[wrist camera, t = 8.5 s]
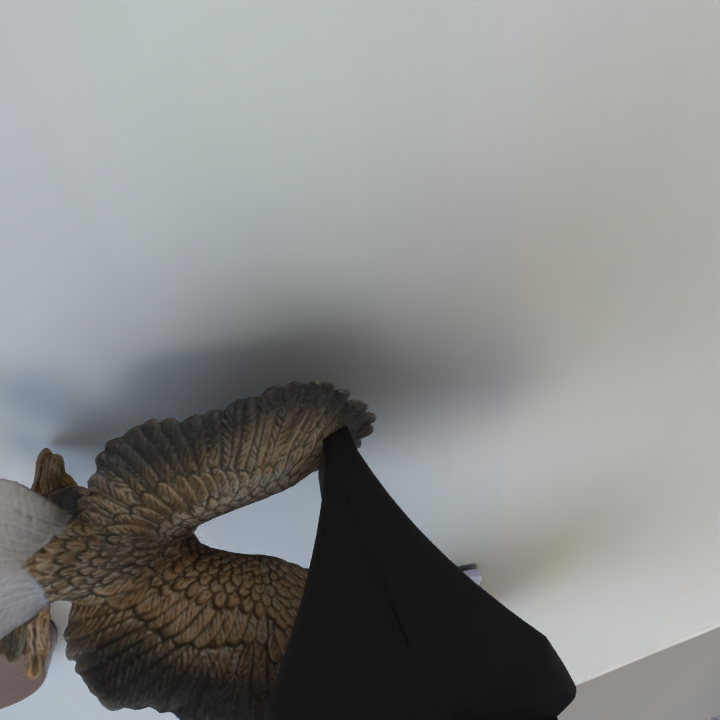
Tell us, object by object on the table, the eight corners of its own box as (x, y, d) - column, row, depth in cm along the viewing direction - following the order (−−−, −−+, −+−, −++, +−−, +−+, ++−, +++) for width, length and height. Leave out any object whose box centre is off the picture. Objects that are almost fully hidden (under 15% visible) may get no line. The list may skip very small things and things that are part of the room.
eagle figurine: (122, 566, 15) (384, 581, 14) (-107, 835, 8) (371, 891, 8) (84, 350, 13) (385, 354, 12) (-259, 469, 6) (368, 493, 6)
